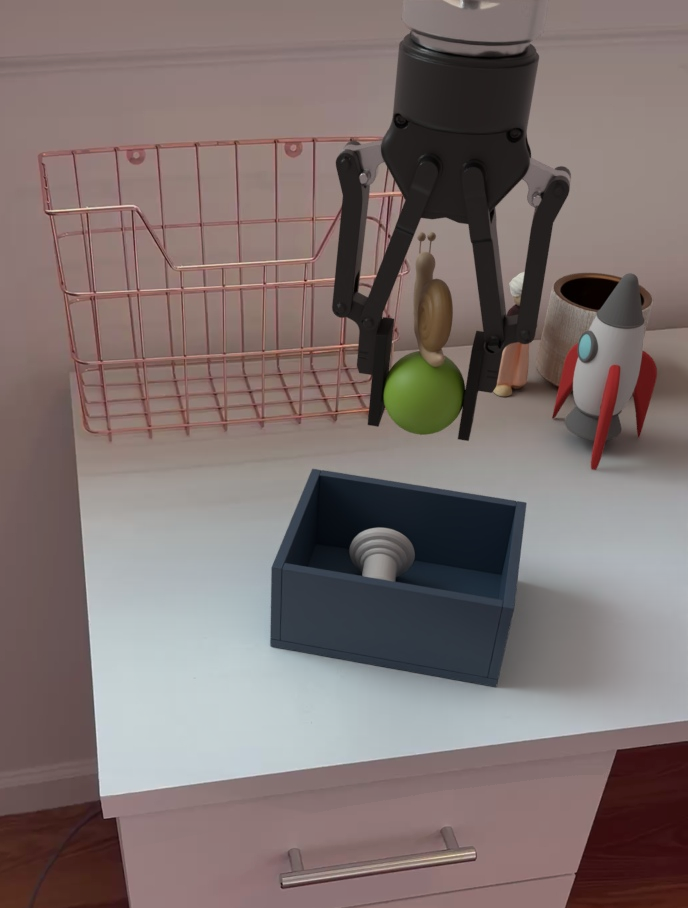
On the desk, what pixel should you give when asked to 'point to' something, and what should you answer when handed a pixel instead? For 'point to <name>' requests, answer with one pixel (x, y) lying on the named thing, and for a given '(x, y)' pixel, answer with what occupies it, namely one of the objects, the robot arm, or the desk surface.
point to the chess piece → (382, 553)
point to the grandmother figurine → (513, 351)
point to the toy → (608, 370)
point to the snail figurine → (426, 359)
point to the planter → (575, 317)
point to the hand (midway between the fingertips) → (420, 422)
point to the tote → (399, 578)
